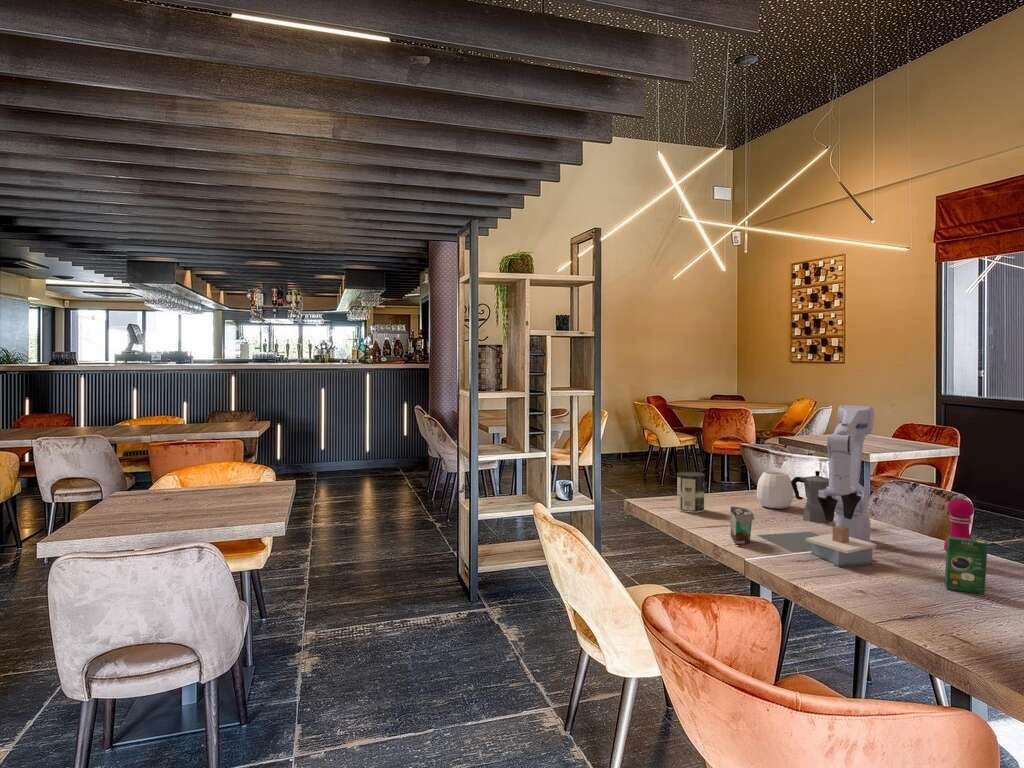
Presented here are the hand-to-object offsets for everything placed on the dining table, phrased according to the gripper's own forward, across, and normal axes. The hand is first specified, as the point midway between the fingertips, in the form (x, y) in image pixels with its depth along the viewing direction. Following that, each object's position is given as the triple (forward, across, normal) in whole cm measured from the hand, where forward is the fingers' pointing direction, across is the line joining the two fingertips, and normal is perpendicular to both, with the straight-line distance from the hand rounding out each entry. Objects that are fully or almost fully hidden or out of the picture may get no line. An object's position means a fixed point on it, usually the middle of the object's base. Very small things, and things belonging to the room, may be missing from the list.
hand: (838, 519), depth 183 cm
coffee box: (+10, -3, +34) cm, 36 cm away
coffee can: (+10, +8, -59) cm, 61 cm away
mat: (+10, +2, -12) cm, 15 cm away
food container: (+10, +19, -18) cm, 28 cm away
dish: (+10, +5, +5) cm, 12 cm away
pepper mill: (+10, -23, +20) cm, 32 cm away
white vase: (+10, -26, -51) cm, 58 cm away
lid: (+5, +5, +5) cm, 9 cm away
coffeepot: (+10, -24, -30) cm, 40 cm away
